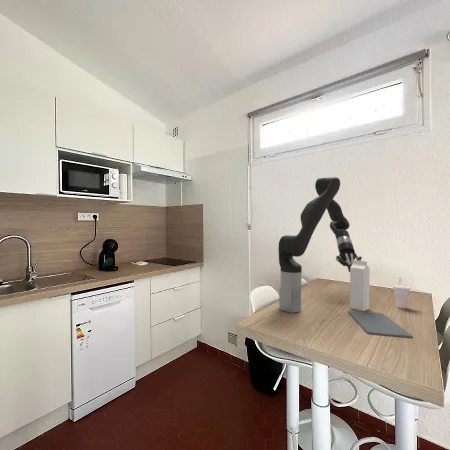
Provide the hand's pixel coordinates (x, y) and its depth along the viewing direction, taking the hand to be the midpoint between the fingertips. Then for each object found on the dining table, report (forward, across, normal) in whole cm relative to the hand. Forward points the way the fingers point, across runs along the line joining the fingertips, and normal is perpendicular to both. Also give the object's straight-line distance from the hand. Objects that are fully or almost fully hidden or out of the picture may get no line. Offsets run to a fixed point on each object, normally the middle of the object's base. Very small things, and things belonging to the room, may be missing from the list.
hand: (352, 272), depth 120 cm
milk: (+18, 0, +4) cm, 18 cm away
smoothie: (+13, +20, +8) cm, 26 cm away
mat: (+30, 0, -9) cm, 31 cm away
